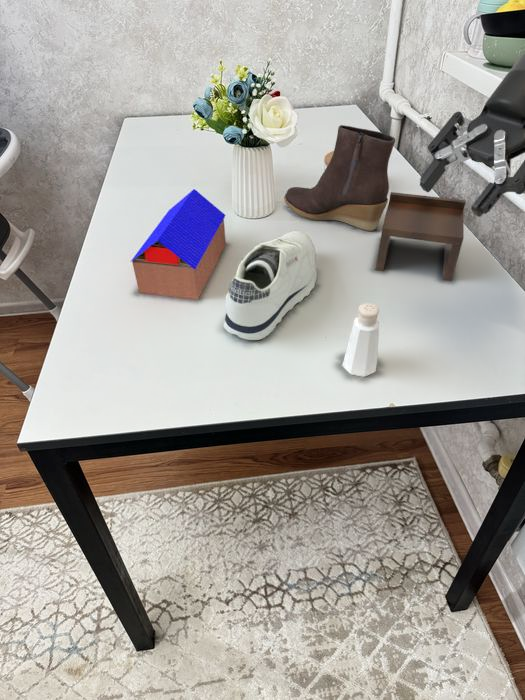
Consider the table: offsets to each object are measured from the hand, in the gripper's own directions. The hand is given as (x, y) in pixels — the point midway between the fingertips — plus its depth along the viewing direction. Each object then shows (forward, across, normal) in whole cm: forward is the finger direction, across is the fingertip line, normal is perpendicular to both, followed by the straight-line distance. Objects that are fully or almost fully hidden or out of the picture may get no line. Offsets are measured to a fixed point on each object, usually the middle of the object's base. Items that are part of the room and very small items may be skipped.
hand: (448, 200), depth 64 cm
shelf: (+4, -16, +29) cm, 34 cm away
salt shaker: (+25, 0, +9) cm, 27 cm away
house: (+32, -40, +2) cm, 51 cm away
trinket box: (-2, -49, +36) cm, 61 cm away
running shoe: (+25, -22, +9) cm, 35 cm away
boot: (+6, -39, +28) cm, 49 cm away
